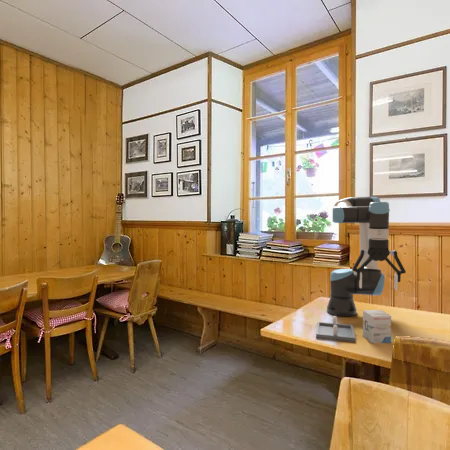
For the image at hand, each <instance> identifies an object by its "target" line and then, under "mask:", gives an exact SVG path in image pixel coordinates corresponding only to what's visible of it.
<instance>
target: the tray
mask: <svg viewBox="0 0 450 450" xmlns="http://www.w3.org/2000/svg"><path fill="white" fill-rule="evenodd" d="M337 317H338V316H337V315H333V316H332V322H327V321H326V322H324V321H323V322H322V321H317V322H316V333H315V337H316V339H320V340H321V339H323V340H330V341H331V340H332V341H333V340H334V341H341V342H350V343H351V342H352V343H356V334H355V330H354V325H353V324H349V323H348V324H347V323H338V322H337V319H338V318H337Z"/></svg>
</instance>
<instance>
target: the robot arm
mask: <svg viewBox="0 0 450 450" xmlns="http://www.w3.org/2000/svg"><path fill="white" fill-rule="evenodd" d="M332 222H333V223H334V224H359V255H358V258H357V259H356V261H355V263H354V265H353V266H352V269H351V268H340V269H334V270H332V271H331V273H330V278H329V281H330V285H329V286H330V297H329V300H328V302H327V303H328V304H327V306H326V312H327V313H328V314H330V315H333V316H336V317H353V316H356V315H357V306H356V303H355V301H354V295H364V296H371V297H372V296H381V295H382V294H383V291H384V287H385V274H384V273H383V272H382V270H381V268H379V266H378V261H379V262H383V261H384V262H386V263H387V264H388V265H389V266H390V267H391V268H392V270H394V272H396V273H394V274H393V275H394V281H393V282H394V283H393V285H394V286H393V288H394V290H395V291H398V287H399V286H398V285H399V284H398V283H400V282H401V278H402V277H401V275H403V274H406V270H405V269H406V268H405V267H404V266H403V264H402V261H401V260H400V258H399V256H398V251H397V250H396V249H393V250H389V248H390V247H389V244H390V243H389V242H390V241H389V238H390V235H389V233H390V229H389V228H390V224H389V222H390V203H389V202H388V201H381V198H379V197H378V196H352V197H351V196H350V197H345V198H341V199H340V200H337V201H336V202H335V203H334V206H333V208H332ZM389 256H392V257H393V258H394V261H395V262H396V264H397V266H398V267H399V269H398V268H397V266H395V265H394V263H393V262H392V261H391V260H390V259H389V258H388V257H389Z"/></svg>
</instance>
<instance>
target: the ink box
mask: <svg viewBox="0 0 450 450" xmlns="http://www.w3.org/2000/svg"><path fill="white" fill-rule="evenodd" d="M362 336H363V337H364V338H365V339H366V340H367V341H368V342H369V343H371V344H386V343H387V344H389V343H390V344H391V343H392V315H391V314H389V313H387V312H385V311H384V310H382V309H370V310H369V309H368V310H366V309H365V310H364V309H363V310H362Z"/></svg>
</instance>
